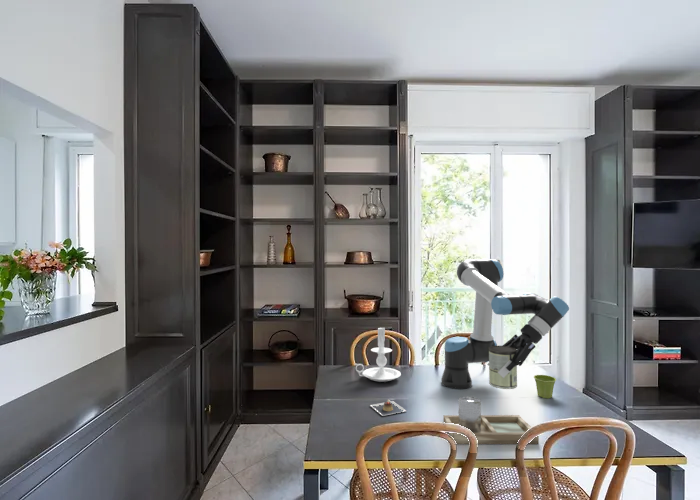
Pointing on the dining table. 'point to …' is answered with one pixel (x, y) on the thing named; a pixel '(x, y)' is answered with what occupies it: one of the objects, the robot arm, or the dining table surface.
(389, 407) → the dessert
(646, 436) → the dining table surface
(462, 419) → the clear glass jar
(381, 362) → the candlestick
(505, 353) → the coffee can
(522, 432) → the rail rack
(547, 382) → the plant pot
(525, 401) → the dining table surface
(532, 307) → the robot arm
